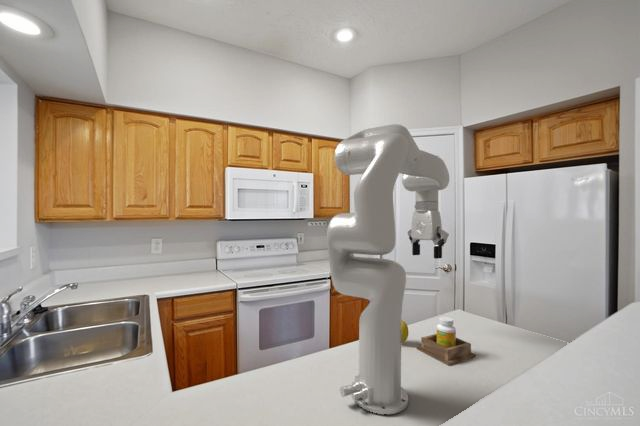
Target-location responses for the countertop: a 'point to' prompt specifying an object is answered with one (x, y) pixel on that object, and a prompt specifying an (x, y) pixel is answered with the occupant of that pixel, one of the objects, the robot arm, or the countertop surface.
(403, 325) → the lemon
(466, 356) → the brown square bottle holder
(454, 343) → the supplement bottle
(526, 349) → the countertop surface
